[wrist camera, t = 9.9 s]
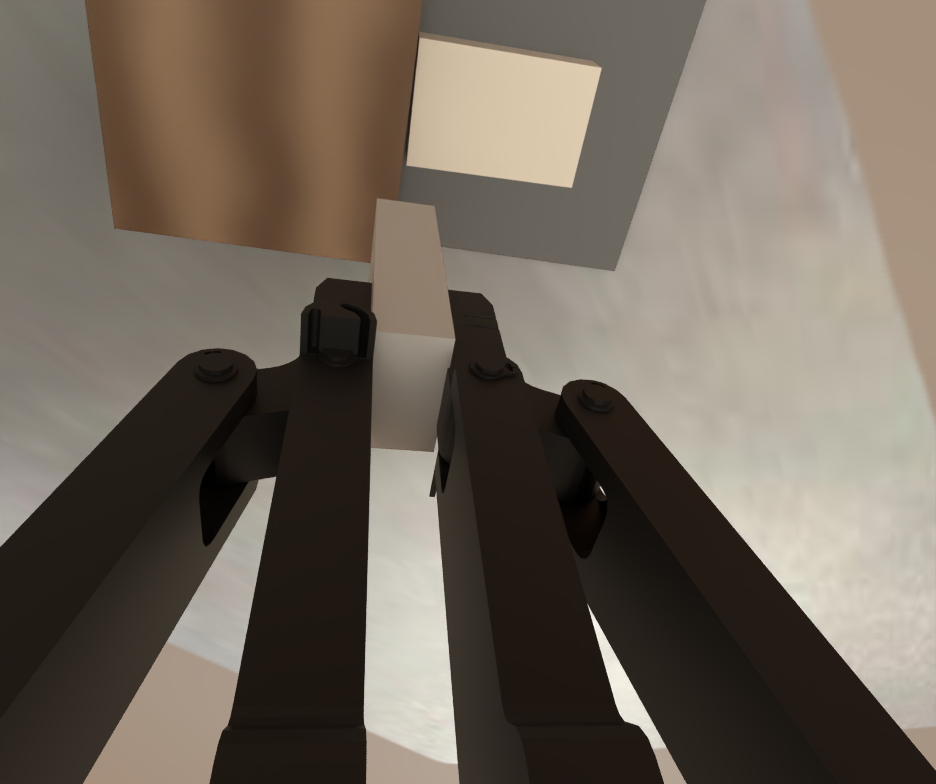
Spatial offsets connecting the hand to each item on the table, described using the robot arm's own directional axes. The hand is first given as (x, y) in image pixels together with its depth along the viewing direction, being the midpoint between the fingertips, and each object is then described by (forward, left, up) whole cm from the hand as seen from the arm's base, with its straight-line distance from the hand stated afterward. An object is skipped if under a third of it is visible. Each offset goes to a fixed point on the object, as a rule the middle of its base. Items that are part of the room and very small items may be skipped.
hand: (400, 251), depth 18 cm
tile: (+5, 0, -20) cm, 21 cm away
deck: (-7, 0, -21) cm, 22 cm away
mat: (+7, 0, -21) cm, 22 cm away
